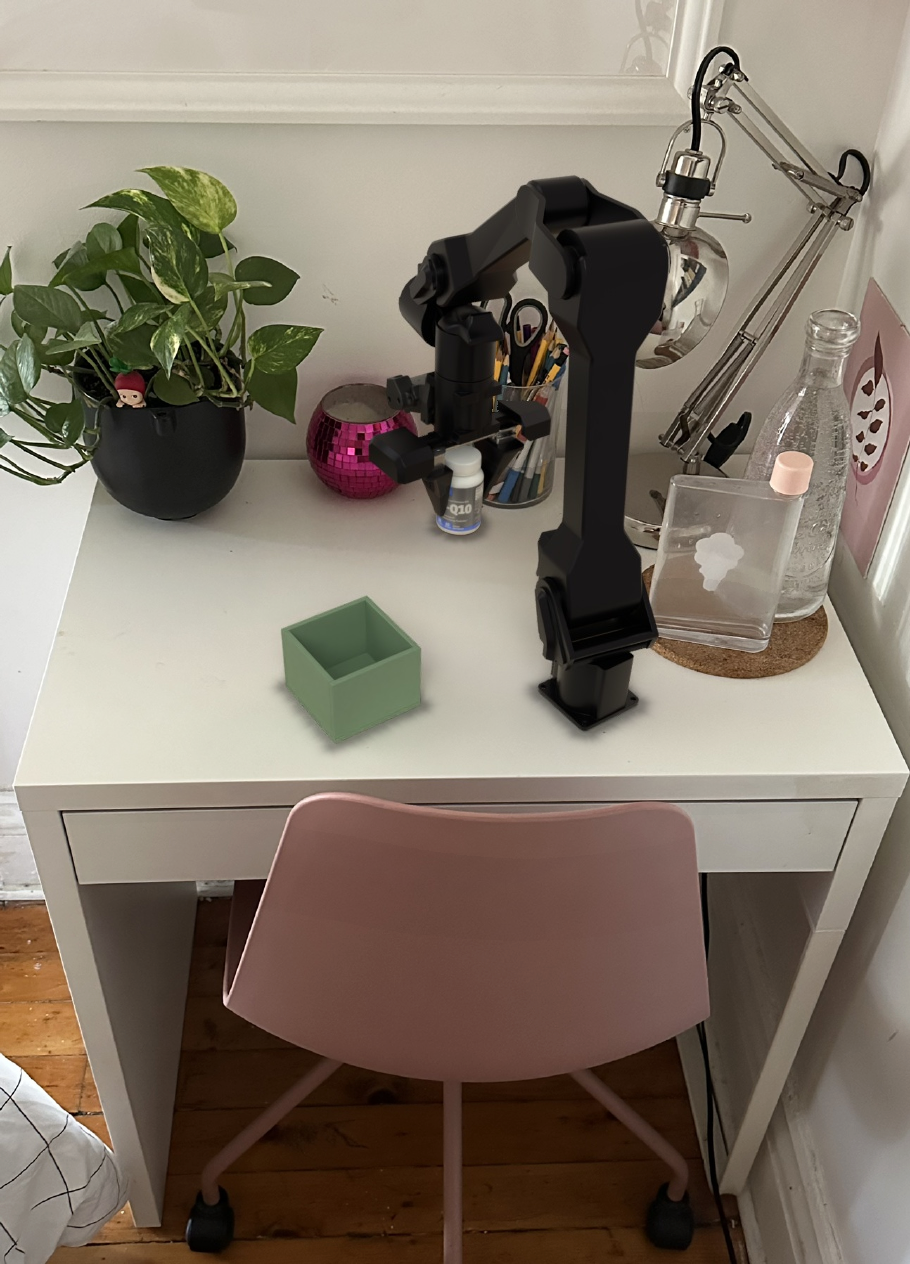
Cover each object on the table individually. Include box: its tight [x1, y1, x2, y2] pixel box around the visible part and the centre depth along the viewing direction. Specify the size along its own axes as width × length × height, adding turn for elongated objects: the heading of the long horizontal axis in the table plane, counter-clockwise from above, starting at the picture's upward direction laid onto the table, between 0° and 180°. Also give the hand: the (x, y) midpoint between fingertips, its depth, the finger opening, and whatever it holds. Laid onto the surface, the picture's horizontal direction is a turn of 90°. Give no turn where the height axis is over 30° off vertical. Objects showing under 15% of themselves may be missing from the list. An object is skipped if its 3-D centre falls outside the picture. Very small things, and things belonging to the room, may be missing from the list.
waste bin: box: [280, 595, 422, 744], centre depth 97 cm, size 8×8×6 cm
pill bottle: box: [435, 444, 484, 536], centre depth 117 cm, size 5×5×8 cm
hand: (459, 507), depth 119 cm, fingers closed on pill bottle, 5 cm apart
